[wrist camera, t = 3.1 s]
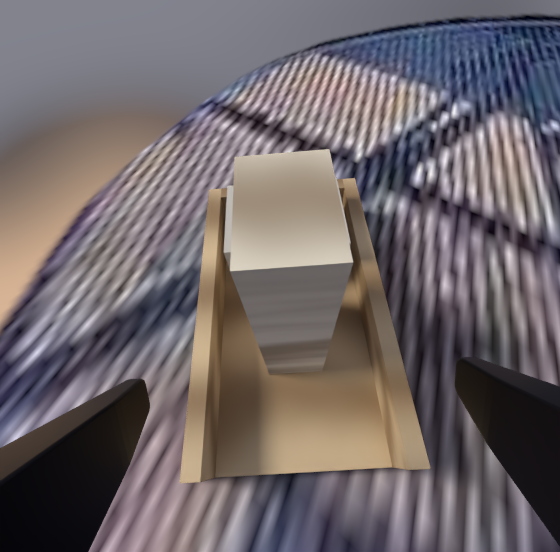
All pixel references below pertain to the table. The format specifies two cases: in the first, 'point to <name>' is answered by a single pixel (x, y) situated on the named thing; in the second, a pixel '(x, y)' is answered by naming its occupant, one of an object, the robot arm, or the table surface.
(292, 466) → the tray
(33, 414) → the table surface
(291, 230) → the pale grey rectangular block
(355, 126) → the table surface
